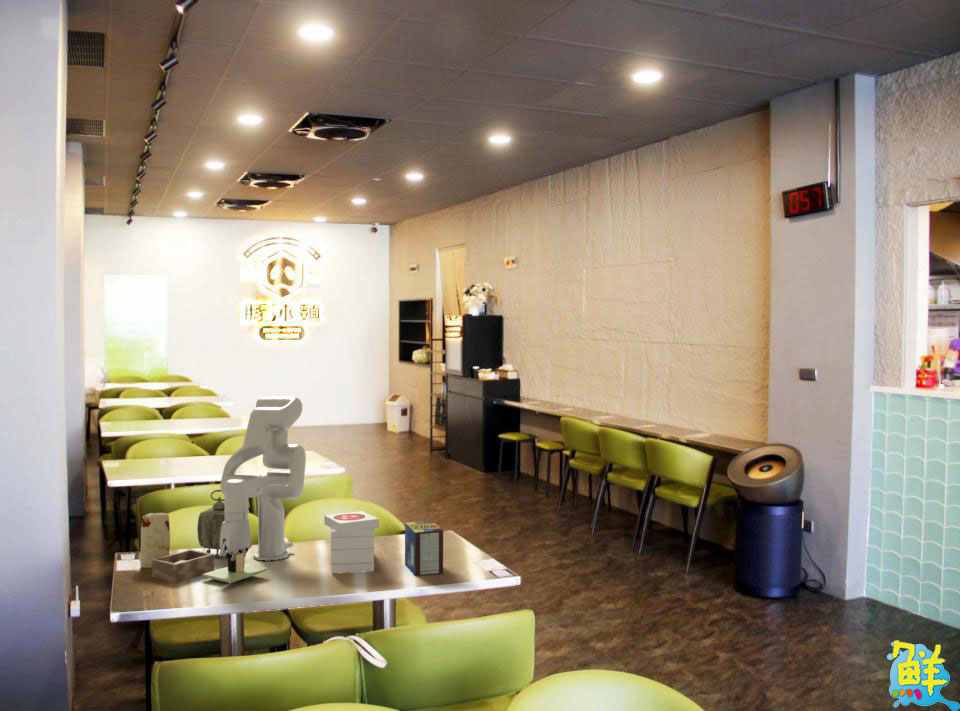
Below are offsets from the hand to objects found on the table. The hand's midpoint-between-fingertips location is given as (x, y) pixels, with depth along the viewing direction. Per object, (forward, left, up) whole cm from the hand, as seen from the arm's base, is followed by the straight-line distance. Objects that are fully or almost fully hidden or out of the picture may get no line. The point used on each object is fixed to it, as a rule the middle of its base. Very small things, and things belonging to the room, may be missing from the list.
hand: (236, 569), depth 279 cm
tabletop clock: (-18, -28, -4) cm, 34 cm away
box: (+7, -18, -4) cm, 20 cm away
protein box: (-46, +45, -4) cm, 64 cm away
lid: (0, 0, -2) cm, 2 cm away
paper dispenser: (-38, +18, -4) cm, 42 cm away
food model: (+5, -35, -4) cm, 35 cm away
